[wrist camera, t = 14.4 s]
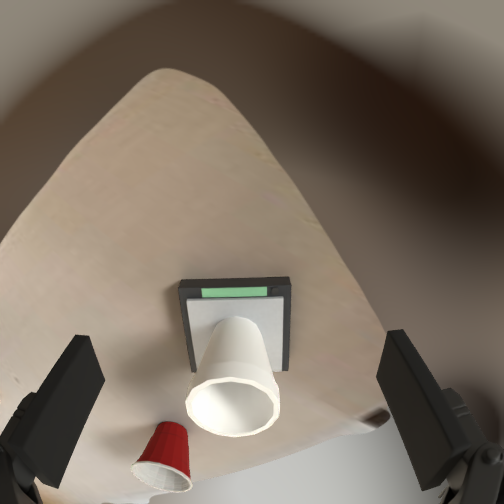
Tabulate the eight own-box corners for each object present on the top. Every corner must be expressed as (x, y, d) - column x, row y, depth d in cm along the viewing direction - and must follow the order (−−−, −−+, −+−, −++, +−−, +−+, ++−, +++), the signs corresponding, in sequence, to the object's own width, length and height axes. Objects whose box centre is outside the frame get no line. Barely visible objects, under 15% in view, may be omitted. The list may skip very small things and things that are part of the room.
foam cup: (287, 332, 41) (299, 404, 29) (243, 373, 44) (242, 446, 32) (228, 292, 39) (220, 361, 27) (187, 339, 42) (168, 411, 30)
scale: (181, 279, 42) (176, 290, 39) (289, 276, 42) (291, 287, 39) (194, 362, 47) (191, 375, 44) (286, 360, 47) (288, 373, 44)
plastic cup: (134, 414, 52) (117, 463, 41) (186, 410, 51) (176, 464, 40) (159, 447, 56) (148, 493, 44) (207, 443, 55) (202, 494, 43)
